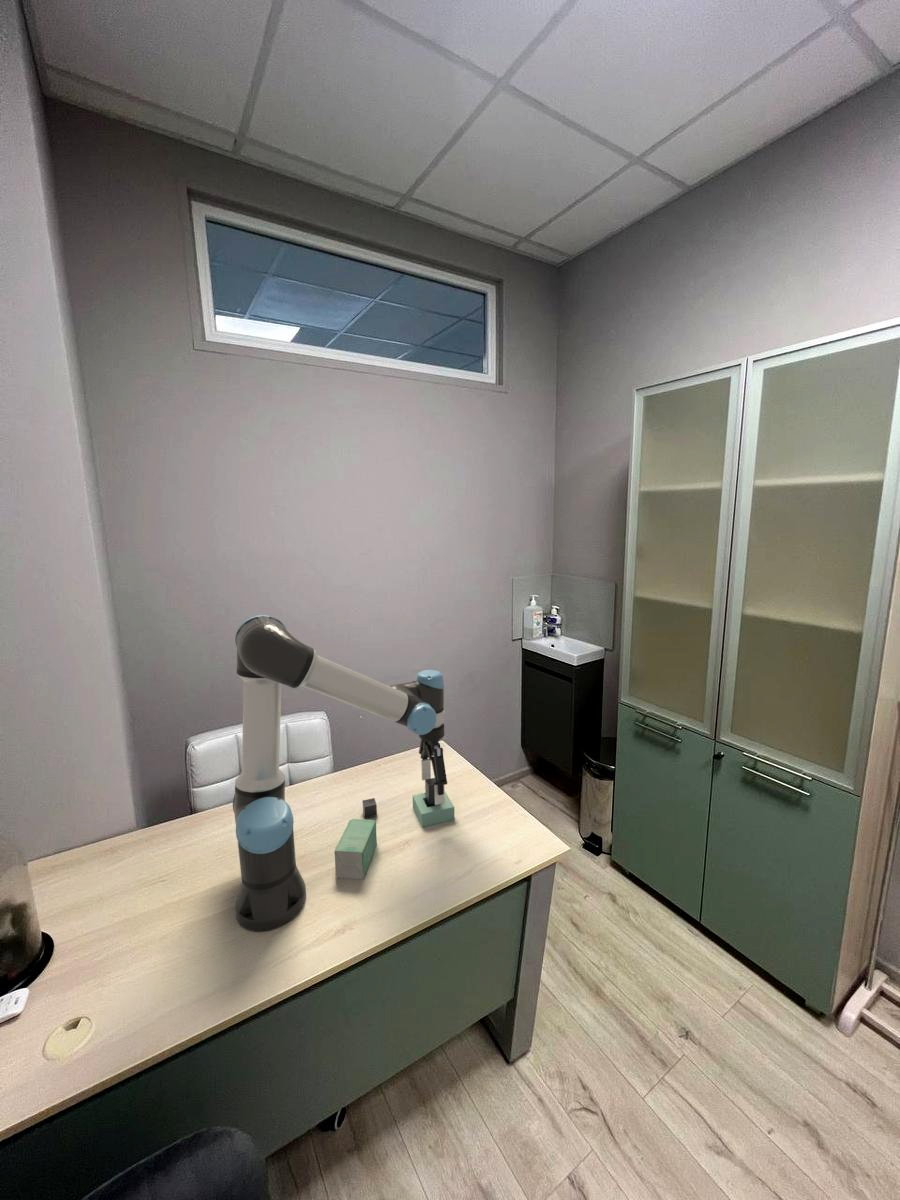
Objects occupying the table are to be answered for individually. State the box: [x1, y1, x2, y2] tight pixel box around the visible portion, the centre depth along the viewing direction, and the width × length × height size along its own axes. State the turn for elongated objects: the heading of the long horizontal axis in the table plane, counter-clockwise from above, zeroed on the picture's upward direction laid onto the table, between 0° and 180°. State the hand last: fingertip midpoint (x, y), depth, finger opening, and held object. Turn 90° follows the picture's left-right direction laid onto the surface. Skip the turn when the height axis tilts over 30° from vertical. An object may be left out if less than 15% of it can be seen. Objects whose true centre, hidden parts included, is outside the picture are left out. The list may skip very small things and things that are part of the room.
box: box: [334, 818, 378, 880], centre depth 123 cm, size 7×14×8 cm, turn 175°
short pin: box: [361, 797, 378, 819], centre depth 142 cm, size 4×4×4 cm
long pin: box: [424, 777, 441, 807], centre depth 141 cm, size 4×4×10 cm
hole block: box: [412, 789, 456, 827], centre depth 142 cm, size 10×10×4 cm
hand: (432, 790), depth 141 cm, fingers open, 13 cm apart
